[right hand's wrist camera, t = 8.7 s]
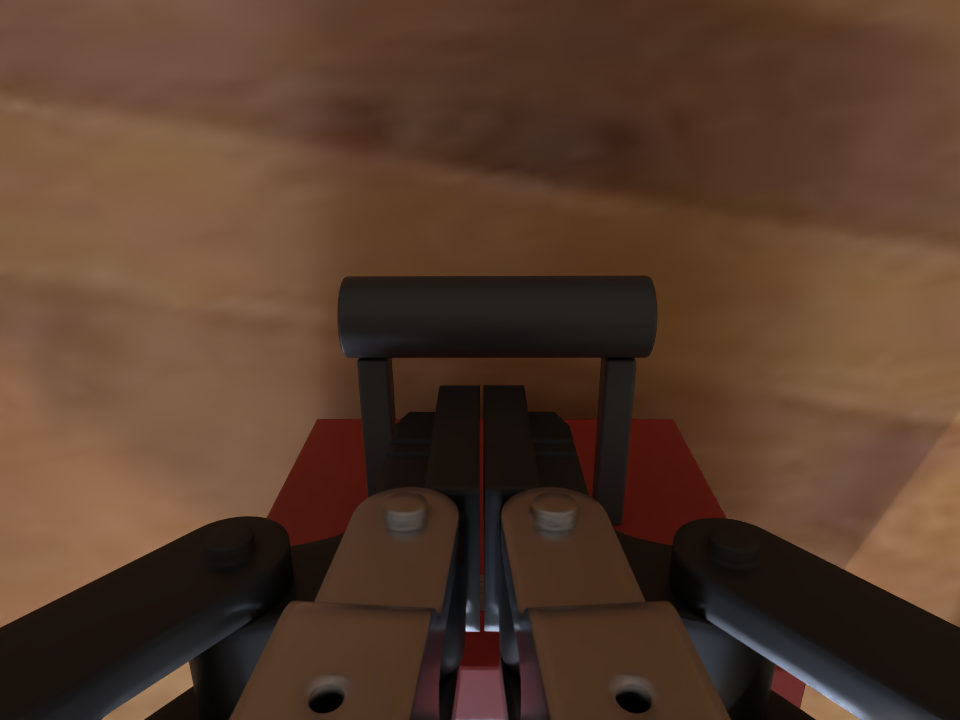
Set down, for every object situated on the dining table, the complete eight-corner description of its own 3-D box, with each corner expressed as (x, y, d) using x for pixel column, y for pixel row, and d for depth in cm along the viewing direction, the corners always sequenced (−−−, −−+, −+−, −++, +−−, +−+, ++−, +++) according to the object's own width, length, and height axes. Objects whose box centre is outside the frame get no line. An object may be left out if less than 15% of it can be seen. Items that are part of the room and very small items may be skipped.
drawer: (296, 228, 17) (121, 360, 9) (695, 227, 17) (883, 359, 9) (351, 737, 24) (280, 1075, 16) (637, 739, 24) (713, 1082, 16)
